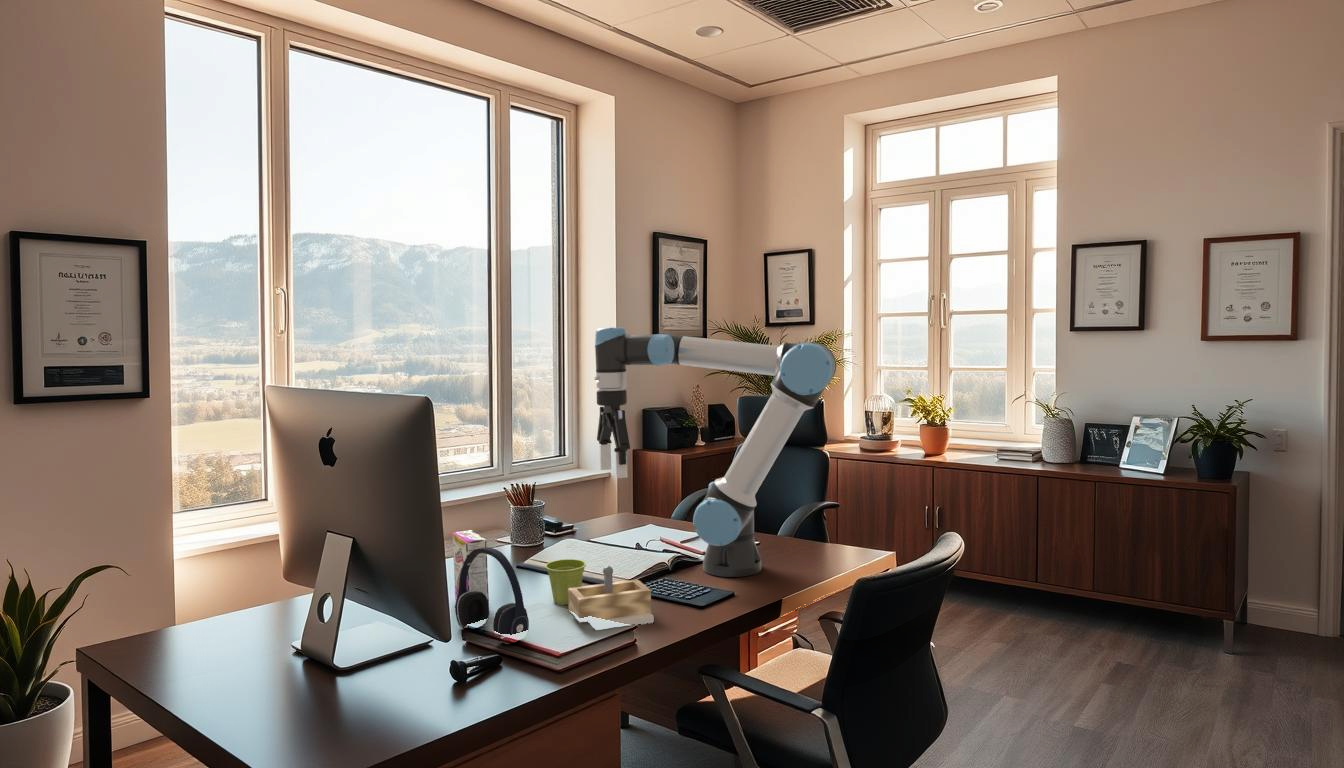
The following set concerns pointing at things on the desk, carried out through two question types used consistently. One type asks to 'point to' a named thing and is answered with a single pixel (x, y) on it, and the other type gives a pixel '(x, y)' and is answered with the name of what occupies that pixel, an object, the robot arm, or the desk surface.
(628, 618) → the peg stand
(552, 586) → the plant pot
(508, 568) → the headphones
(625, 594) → the wooden planter box
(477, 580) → the candy bar box
